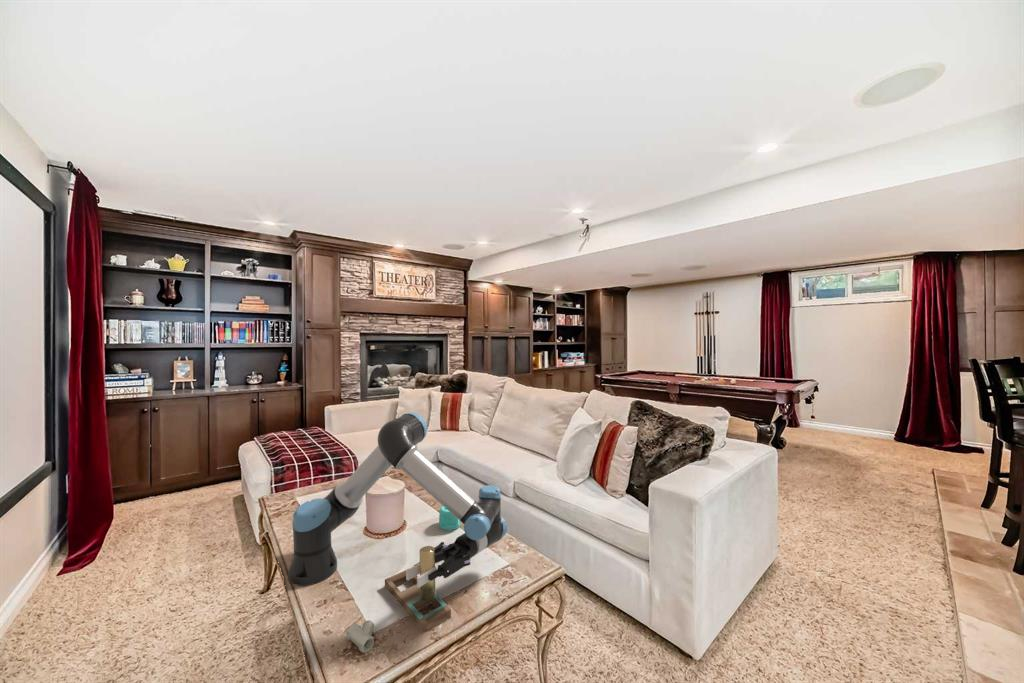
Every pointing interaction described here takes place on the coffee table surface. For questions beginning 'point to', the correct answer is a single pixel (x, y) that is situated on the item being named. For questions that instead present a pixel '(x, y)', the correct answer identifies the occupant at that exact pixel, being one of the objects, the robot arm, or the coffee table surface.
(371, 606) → the coffee table surface
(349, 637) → the pipe fitting
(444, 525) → the decorative dice
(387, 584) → the walnut rail
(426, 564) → the brass peg
